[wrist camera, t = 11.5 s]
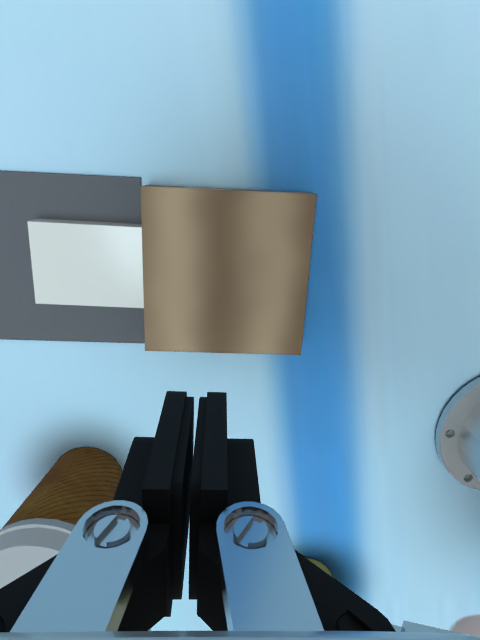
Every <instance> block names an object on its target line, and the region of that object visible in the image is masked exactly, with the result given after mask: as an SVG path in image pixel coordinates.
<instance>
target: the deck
mask: <svg viewBox="0 0 480 640" xmlns="http://www.w3.org/2000/svg"><path fill="white" fill-rule="evenodd" d="M316 198H317V194H313V193H308V192H286V191H265V190H244V189H222V188H201V187H180V186H158V185H145V186H141V222H142V258H143V295H144V331H145V351H175V352H211V353H247V354H284V355H301V349H302V339H303V329H304V319H305V309H306V299H307V289H308V279H309V269H310V258H311V248H312V238H313V228H314V218H315V208H316Z"/></svg>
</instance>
